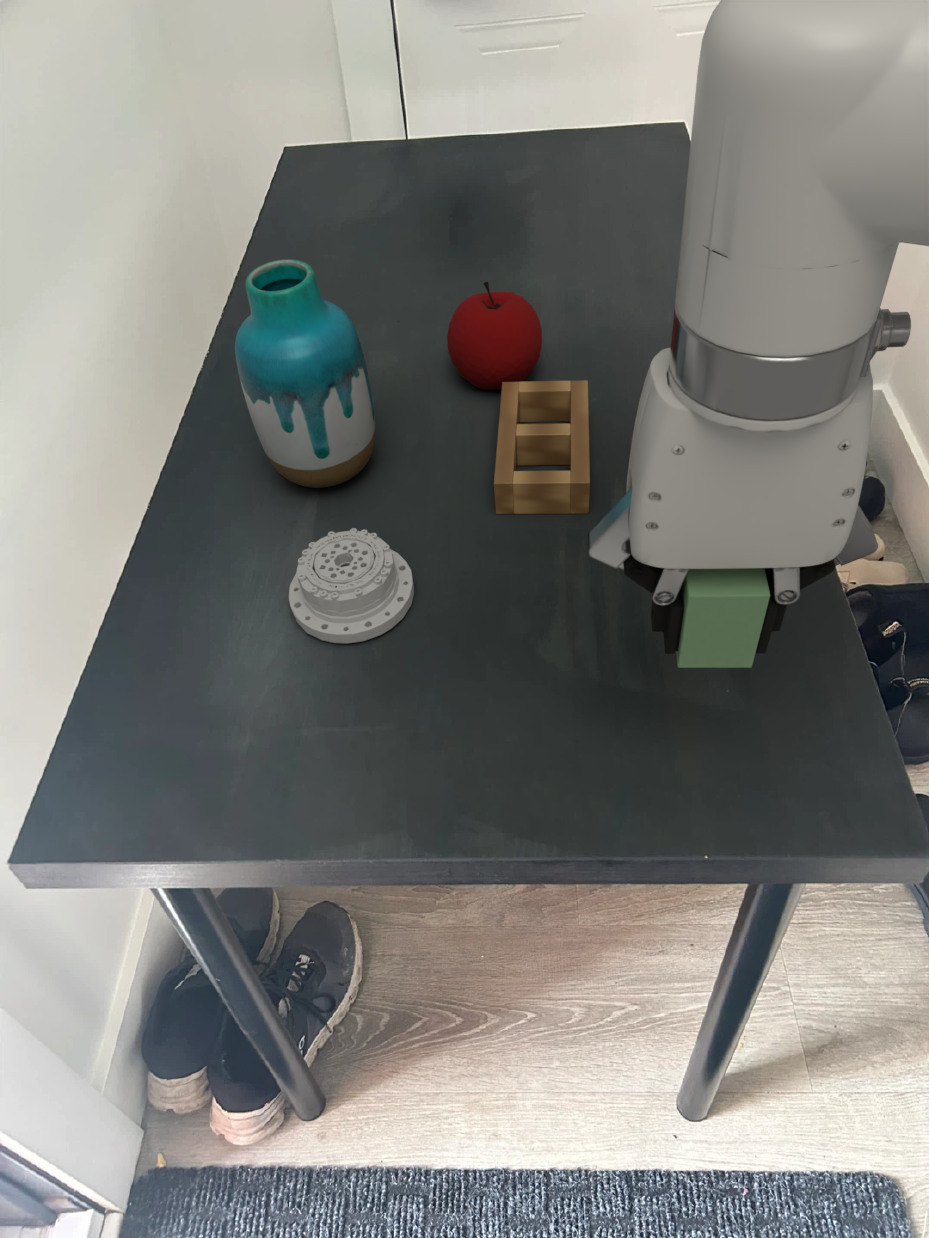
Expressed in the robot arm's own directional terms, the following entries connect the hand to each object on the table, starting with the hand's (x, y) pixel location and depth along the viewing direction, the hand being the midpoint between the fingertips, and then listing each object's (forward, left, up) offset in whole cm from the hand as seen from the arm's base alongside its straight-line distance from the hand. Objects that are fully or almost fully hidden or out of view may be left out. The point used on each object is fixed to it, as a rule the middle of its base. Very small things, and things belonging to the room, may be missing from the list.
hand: (712, 631), depth 49 cm
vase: (+30, -30, -14) cm, 45 cm away
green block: (0, 0, -1) cm, 1 cm away
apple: (+15, -44, -14) cm, 49 cm away
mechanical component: (+25, -14, -14) cm, 32 cm away
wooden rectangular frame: (+10, -31, -14) cm, 36 cm away
